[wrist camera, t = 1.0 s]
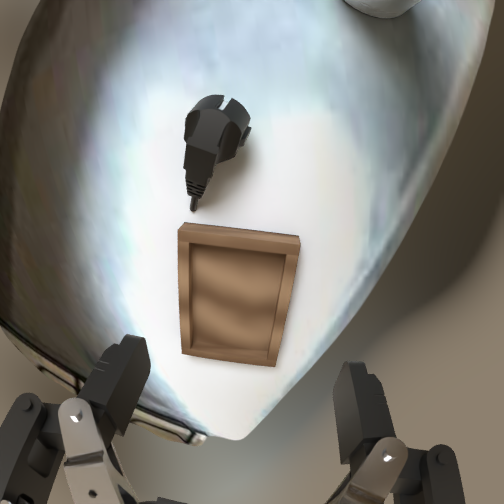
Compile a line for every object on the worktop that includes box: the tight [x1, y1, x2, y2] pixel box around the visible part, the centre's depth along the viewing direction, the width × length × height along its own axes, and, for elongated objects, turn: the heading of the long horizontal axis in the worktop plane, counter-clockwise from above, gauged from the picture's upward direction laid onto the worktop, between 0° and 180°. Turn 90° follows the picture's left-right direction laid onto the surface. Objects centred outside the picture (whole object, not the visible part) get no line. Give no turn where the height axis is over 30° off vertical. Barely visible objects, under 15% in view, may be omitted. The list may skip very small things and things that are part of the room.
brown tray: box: [178, 222, 300, 367], centre depth 33 cm, size 17×12×2 cm
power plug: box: [183, 95, 251, 211], centre depth 26 cm, size 6×8×12 cm
